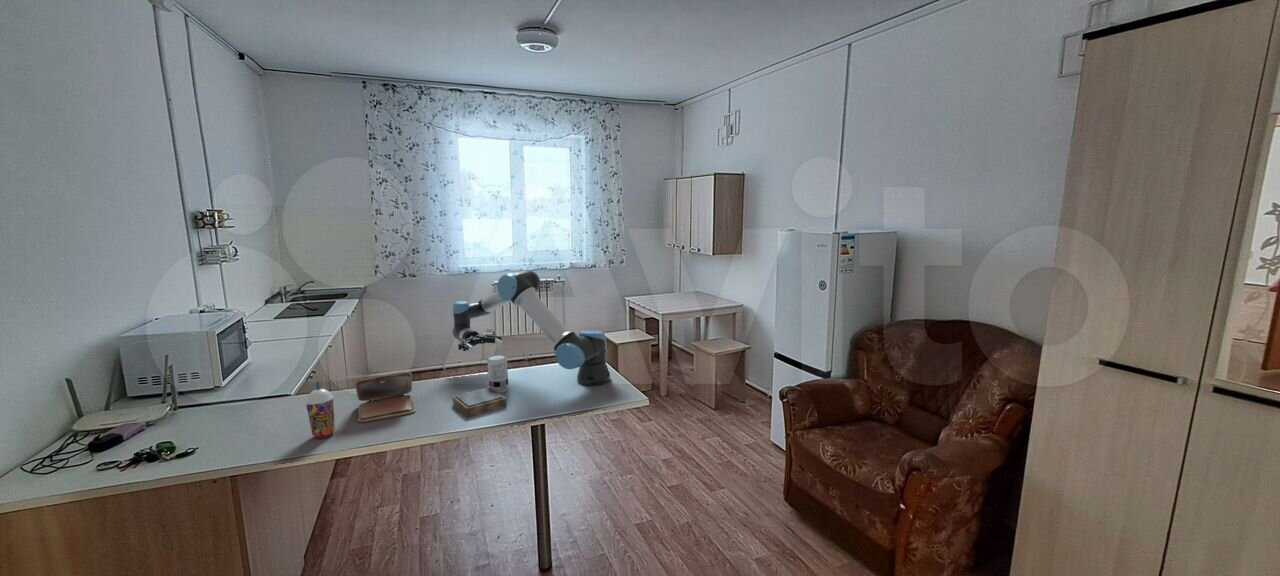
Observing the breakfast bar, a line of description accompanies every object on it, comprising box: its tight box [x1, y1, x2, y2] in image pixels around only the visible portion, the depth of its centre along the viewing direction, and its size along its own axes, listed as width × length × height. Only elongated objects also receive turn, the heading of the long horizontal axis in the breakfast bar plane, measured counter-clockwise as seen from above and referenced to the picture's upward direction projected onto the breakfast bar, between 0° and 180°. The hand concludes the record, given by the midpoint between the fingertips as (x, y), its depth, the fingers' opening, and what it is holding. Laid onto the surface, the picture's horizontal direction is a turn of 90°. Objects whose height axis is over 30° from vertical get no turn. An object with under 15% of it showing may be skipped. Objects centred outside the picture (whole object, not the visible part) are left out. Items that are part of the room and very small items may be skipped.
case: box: [354, 370, 417, 424], centre depth 201 cm, size 20×21×16 cm
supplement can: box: [487, 354, 509, 394], centre depth 220 cm, size 8×8×15 cm
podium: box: [452, 387, 508, 418], centre depth 205 cm, size 16×16×4 cm
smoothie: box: [305, 381, 336, 440], centre depth 178 cm, size 8×8×20 cm
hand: (487, 346), depth 226 cm, fingers open, 13 cm apart
